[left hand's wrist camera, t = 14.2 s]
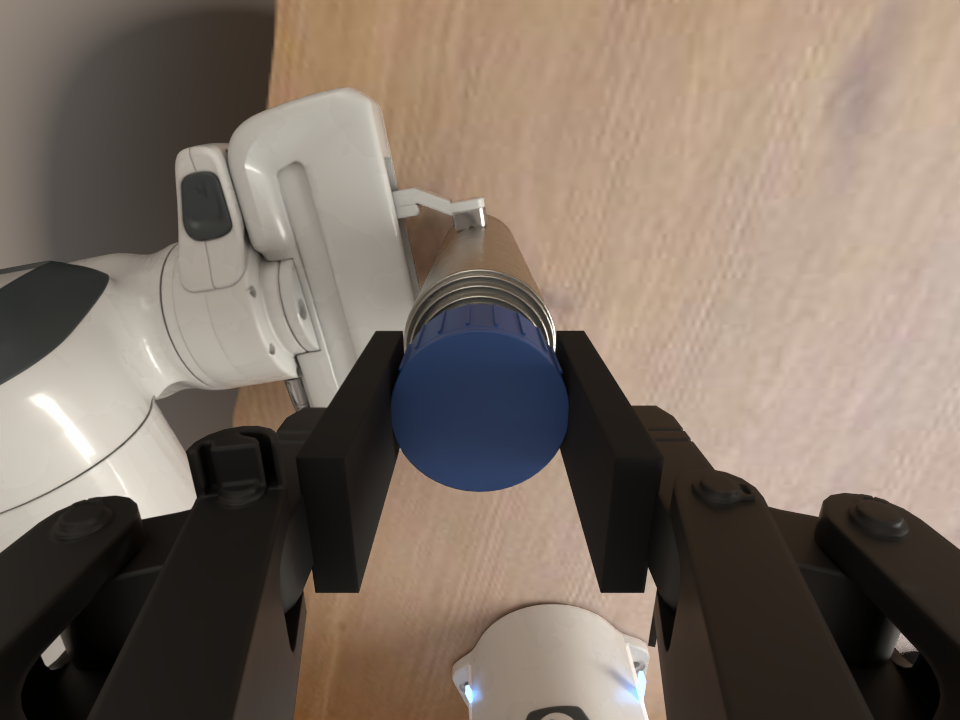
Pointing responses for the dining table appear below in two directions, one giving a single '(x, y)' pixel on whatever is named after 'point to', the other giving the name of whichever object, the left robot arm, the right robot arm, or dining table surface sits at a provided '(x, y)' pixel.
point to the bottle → (480, 279)
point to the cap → (479, 399)
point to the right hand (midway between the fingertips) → (494, 267)
